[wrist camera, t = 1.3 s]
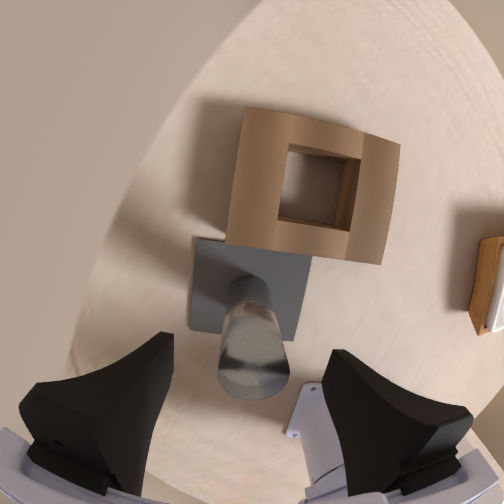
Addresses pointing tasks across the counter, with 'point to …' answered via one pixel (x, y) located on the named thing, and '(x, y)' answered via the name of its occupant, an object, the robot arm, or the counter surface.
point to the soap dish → (489, 287)
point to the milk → (500, 495)
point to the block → (350, 196)
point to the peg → (251, 342)
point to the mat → (238, 264)
